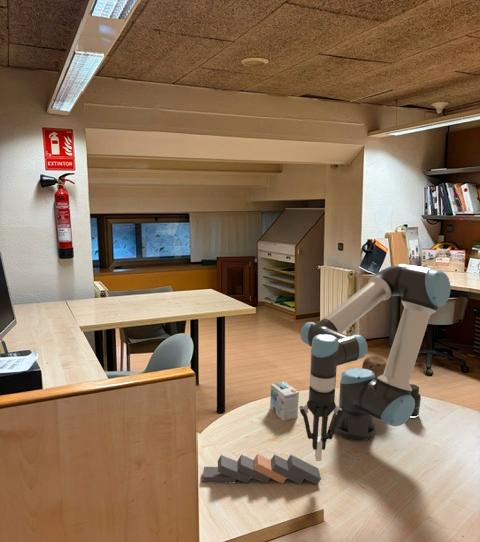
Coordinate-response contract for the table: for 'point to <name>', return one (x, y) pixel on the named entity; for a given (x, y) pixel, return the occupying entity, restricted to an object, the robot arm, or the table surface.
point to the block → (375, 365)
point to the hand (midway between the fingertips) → (318, 458)
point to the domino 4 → (266, 468)
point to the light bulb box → (284, 401)
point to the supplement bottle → (417, 399)
